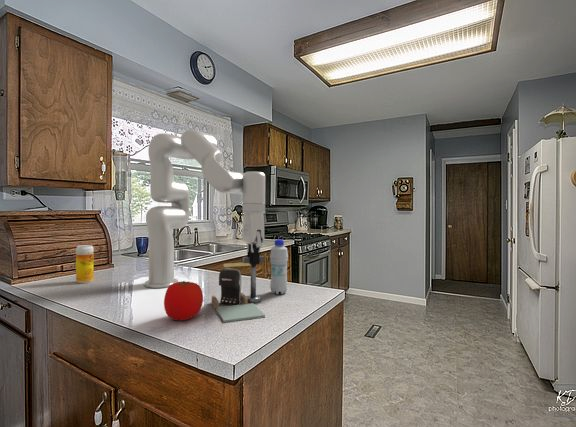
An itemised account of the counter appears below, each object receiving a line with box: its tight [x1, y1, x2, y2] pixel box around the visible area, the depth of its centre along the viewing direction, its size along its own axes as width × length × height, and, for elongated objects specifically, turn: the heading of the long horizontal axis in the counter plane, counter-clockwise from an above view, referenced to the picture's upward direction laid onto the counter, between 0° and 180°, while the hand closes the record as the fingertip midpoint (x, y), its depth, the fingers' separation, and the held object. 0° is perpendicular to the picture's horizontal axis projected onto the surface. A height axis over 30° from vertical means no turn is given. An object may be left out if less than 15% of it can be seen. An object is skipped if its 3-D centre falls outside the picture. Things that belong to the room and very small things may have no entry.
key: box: [223, 255, 265, 298], centre depth 105 cm, size 2×13×14 cm, turn 113°
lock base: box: [245, 294, 262, 305], centre depth 106 cm, size 5×5×2 cm
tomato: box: [163, 280, 204, 321], centre depth 90 cm, size 10×11×11 cm
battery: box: [218, 268, 242, 306], centre depth 103 cm, size 7×4×11 cm, turn 70°
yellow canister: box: [75, 244, 95, 285], centre depth 130 cm, size 6×6×15 cm
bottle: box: [269, 238, 289, 295], centre depth 117 cm, size 7×7×20 cm
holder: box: [211, 292, 248, 310], centre depth 103 cm, size 7×10×2 cm
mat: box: [215, 303, 266, 324], centre depth 95 cm, size 12×12×1 cm
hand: (253, 263), depth 106 cm, fingers closed on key, 2 cm apart
